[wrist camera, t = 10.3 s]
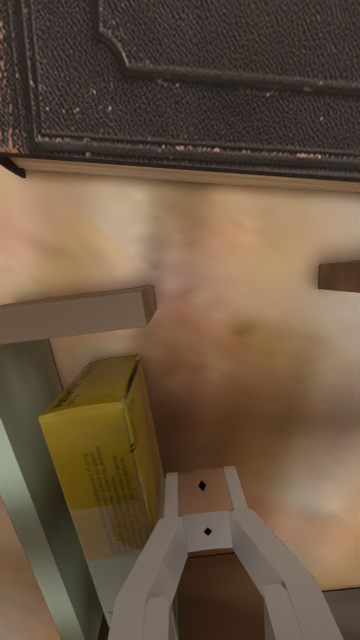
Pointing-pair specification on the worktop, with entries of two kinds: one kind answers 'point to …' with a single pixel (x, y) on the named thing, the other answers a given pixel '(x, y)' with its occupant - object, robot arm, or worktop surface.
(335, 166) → the hardcover book
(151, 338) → the worktop surface
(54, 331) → the trap corral
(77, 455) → the medication box
